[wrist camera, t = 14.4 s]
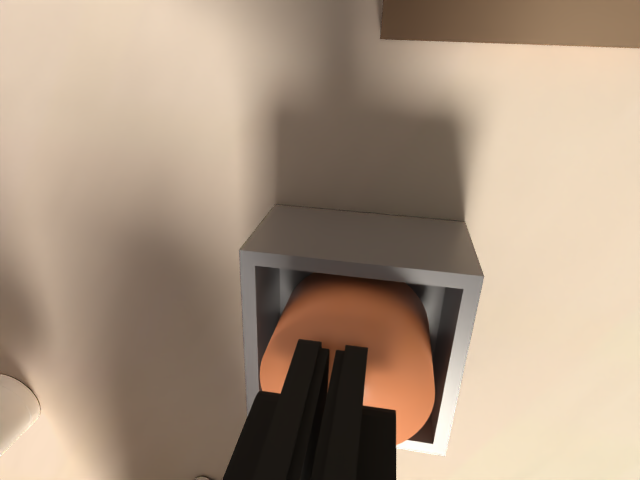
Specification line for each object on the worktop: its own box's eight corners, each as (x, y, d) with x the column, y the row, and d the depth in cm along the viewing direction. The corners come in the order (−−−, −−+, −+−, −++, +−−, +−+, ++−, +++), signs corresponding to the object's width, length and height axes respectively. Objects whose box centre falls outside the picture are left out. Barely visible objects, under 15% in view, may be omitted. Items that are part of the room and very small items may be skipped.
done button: (439, 272, 12) (448, 327, 10) (419, 394, 14) (422, 464, 12) (284, 255, 13) (257, 303, 10) (284, 374, 15) (261, 437, 12)
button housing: (465, 221, 13) (483, 276, 10) (437, 374, 16) (445, 456, 13) (275, 204, 14) (239, 250, 11) (276, 352, 17) (247, 423, 14)
